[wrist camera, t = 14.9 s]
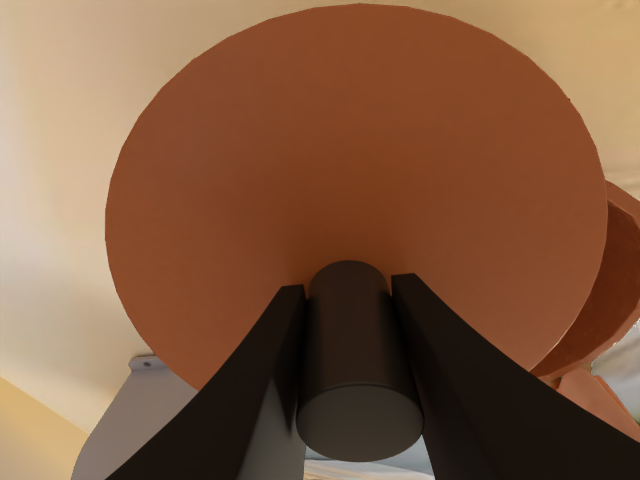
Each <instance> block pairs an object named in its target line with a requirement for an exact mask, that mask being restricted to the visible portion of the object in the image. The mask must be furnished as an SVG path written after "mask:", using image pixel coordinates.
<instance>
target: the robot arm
mask: <svg viewBox="0 0 640 480" xmlns="http://www.w3.org/2000/svg"><path fill="white" fill-rule="evenodd" d="M391 286H392V300H393V304H394V307H395V311H396V314H397V318H398V322H399V325H400V329H401V332H402V336H403V339H404V343H405V347H406V350H407V354H408V357H409V361H410V365H411V368H412V372H413V375H414V379H415V383H416V386H417V390H418V393H419V397H420V400H421V404H422V408H423V411H424V415H425V425H424V429H423V432H422V436H423V439H424V442H425V445H426V448H427V452H428V455H429V458H430V462H431V465H432V469H433V473H434V476H435V480H640V443H639V442H638V441H636V440H634V439H633V438H631V437H629V436H628V435H626V434H624V433H623V432H621V431H619V430H618V429H616V428H615V427H613V426H611V425H610V424H608V423H606V422H605V421H603V420H601V419H600V418H598V417H597V416H595V415H593V414H592V413H590V412H588V411H587V410H585V409H584V408H582V407H580V406H579V405H577V404H576V403H574V402H573V401H571V400H569V399H568V398H566V397H565V396H563V395H562V394H560V393H559V392H557V391H556V390H554V389H553V388H551V387H550V386H548V385H547V384H546V383H544V382H543V381H541V380H540V379H538V378H537V377H536V376H534V375H533V374H531V373H530V372H528V371H527V370H525V369H524V368H523V367H521V366H520V365H519V364H517V363H516V362H515V361H513V360H512V359H511V358H509V357H508V356H507V355H505V354H504V353H503V352H502V351H500V350H499V349H498V348H497V347H495V346H494V345H493V344H492V343H490V342H489V341H488V340H487V339H485V338H484V337H483V336H482V335H481V334H479V333H478V332H477V331H476V330H475V329H473V328H472V327H471V326H470V325H469V324H468V323H467V322H466V321H464V320H463V319H462V318H461V317H460V316H459V315H458V314H457V313H455V312H454V311H453V310H452V309H451V308H450V307H449V306H448V305H447V304H446V303H445V302H444V301H443V300H442V299H441V298H439V297H438V296H437V295H436V294H435V293H434V292H433V291H432V290H431V289H430V288H429V287H428V286H427V285H426V284H425V283H424V282H423V281H422V280H421V278H420V277H419V276H417V275H416V274H415V273H407V274H397V275H391ZM306 306H307V300H306V295H305V290H304V285H303V284H298V285H288V286H281V288H280V289H279V290H278V291H277V293H276V294H275V296H274V297H273V299H272V300H271V302H270V303H269V305H268V306H267V307H266V309H265V310H264V312H263V313H262V315H261V316H260V317H259V319H258V320H257V322H256V323H255V324H254V326H253V327H252V328H251V330H250V331H249V332H248V334H247V335H246V336H245V338H244V339H243V340H242V342H241V343H240V344H239V345H238V347H237V348H236V349H235V350H234V352H233V353H232V354H231V355H230V356H229V358H228V359H227V360H226V361H225V362H224V364H223V365H222V366H221V367H220V368H219V370H218V371H217V372H216V373H215V374H214V375H213V377H212V378H211V379H210V380H209V381H208V382H207V383H206V384H205V386H204V387H203V388H202V389H201V390H200V391H197V390H196V389H194V388H193V387H191V386H190V385H189V384H187V383H186V382H185V381H184V380H182V379H181V378H180V377H179V376H177V375H176V374H175V373H174V372H172V371H171V370H170V369H169V368H168V367H167V366H166V365H165V364H164V363H163V362H162V361H161V360H160V359H159V358H158V357H157V356H146V357H134V358H132V359H131V360H130V361H129V366H130V368H131V370H132V372H131V374H130V375H129V377H128V378H127V380H126V381H125V383H124V384H123V386H122V387H121V389H120V390H119V392H118V393H117V395H116V397H115V398H114V400H113V401H112V403H111V404H110V406H109V407H108V409H107V410H106V412H105V413H104V415H103V416H102V418H101V419H100V421H99V422H98V424H97V425H96V427H95V428H94V430H93V431H92V433H91V434H90V436H89V438H88V439H87V441H86V442H85V444H84V446H83V447H82V449H81V452H80V454H79V456H78V458H77V461H76V464H75V466H74V469H73V473H72V477H71V480H303V474H304V461H305V452H306V444H305V443H304V442H303V441H302V440H301V438H300V436H299V435H298V432H297V429H296V425H295V418H296V407H297V397H298V387H299V376H300V366H301V356H302V345H303V335H304V327H305V317H306Z"/></svg>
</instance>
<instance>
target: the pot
mask: <svg viewBox="0 0 640 480" xmlns="http://www.w3.org/2000/svg"><path fill="white" fill-rule="evenodd" d="M568 99H569V98H568ZM569 100H570V99H569ZM605 185H606V195H607V205H608V218H607V233H606V243H605V247H604V251H603V256H602V260H601V264H600V268H599V271H598V274H597V276H596V279H595V281H594V284H593V287H592V289H591V292H590V294H589V296H588V298H587V300H586V302H585V303H584V305H583V307H582V309H581V311H580V312H579V314H578V316H577V318H576V319H575V321H574V322H573V324H572V325H571V326H570V328H569V329H568V330H567V332H566V333H565V334H564V336H563V337H562V338H561V340H560V341H559V342H558V343H557V344H556V345H555V347H554V348H553V349H552V350H551V351H550V352H549V353H548V354H547V355H546V356H545V357H544V358H543V359H542V360H541V361H540V362H539V363H538V364H537V365H536V366H534V367H533V368H532V369H531V370H530V371H529V372H530V373H531V374H533V375H534V376H536V377H537V378H538V379H540V380H541V381H543V382H548V381H551V380H554V379H556V378H558V377H560V376H562V375H565V374H567V373H569V372H571V371H573V370H575V369H577V368H580V367H582V366H584V365H586V364H587V363H590V362H591V361H593V360H594V359H595V358H597V357H598V356H599V355H601V354H602V353H603V352H605V351H606V350H608V349H609V348H610V347H612V346H613V345H614V344H616V343H617V342H618V341H620V340H621V339H622V338H623V336H624V335H625V334H626V333H627V332H628V331H629V329H630V328H631V327H632V326H633V325H634V324H635V322H636V321H637V320H638V319H639V318H640V201H638V200H637V199H635V198H634V197H632V196H631V195H629V194H628V193H626V192H625V191H623V190H622V189H620V188H619V187H617V186H616V185H615V184H613V183H611V182H609V181H606V180H605Z"/></svg>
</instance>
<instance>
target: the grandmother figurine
mask: <svg viewBox="0 0 640 480" xmlns="http://www.w3.org/2000/svg"><path fill="white" fill-rule="evenodd" d="M590 372H591V362H590V363H587V364H586V365H584V366H582V367H580V368H577V369H575V370H573V371H571V372H569V373H567V374H565V375H563V377H562V378H556V379H554V380H551V381H548V382H544V383H546V384H547V385H548V386H550V387H551V388H553V389H554V390H556V391H557V392H559V393H560V394H562V395H563V396H565V397H566V398H568V399H569V400H571V401H573V402H574V403H576V404H577V405H579V406H580V407H582V408H584V409H585V410H587V411H588V412H590V413H592V414H593V415H595V416H597V417H598V418H600V419H601V420H603V421H605V422H606V423H608V424H610V425H611V426H613V427H615V428H616V429H618V430H619V431H621V432H623V433H624V434H626V435H628V436H629V437H631V438H633V439H634V440H636V441H638V442H639V443H640V427H639V426H638V424H637V423H636V422H635V420H634V419H633V418H632V416H631V415H630V414H629V412H628V411H627V409H626V408H625V406H624V405H623V404H622V402H621V401H620V400H619V398H618V397H617V396H616V395H615V393H614V392H613V391H612V389H611V388H610V387H609V386H608V384H607V383H606V382H605V381H604V380H603V379H602V378H601V377H600V376H593V375H591V374H590Z"/></svg>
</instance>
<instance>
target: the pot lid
mask: <svg viewBox="0 0 640 480" xmlns="http://www.w3.org/2000/svg"><path fill="white" fill-rule="evenodd" d="M607 218H608V205H607V195H606V185H605V177H604V174H603V170H602V167H601V163H600V160H599V156H598V153H597V149H596V146H595V144H594V142H593V140H592V138H591V136H590V134H589V132H588V130H587V128H586V126H585V124H584V122H583V120H582V118H581V116H580V114H579V113H578V111H577V110H576V109H575V107H574V106H573V105H572V103H571V102H570V100H569V99H568V98H567V96H566V95H565V94H564V92H563V91H562V90H561V88H560V87H559V86H558V84H557V83H556V82H555V81H553V80H552V79H551V78H550V77H549V76H548V75H547V74H546V73H545V72H544V71H543V70H542V69H540V68H539V67H538V66H537V65H536V64H535V63H534V62H533V61H532V60H531V59H530V58H529V57H527V56H526V55H524V54H523V53H521V52H520V51H518V50H516V49H515V48H513V47H512V46H510V45H509V44H507V43H506V42H504V41H502V40H501V39H499V38H498V37H496V36H495V35H493V34H491V33H489V32H486V31H484V30H482V29H479V28H477V27H474V26H472V25H470V24H467V23H465V22H462V21H460V20H458V19H455V18H453V17H450V16H446V15H441V14H437V13H433V12H428V11H424V10H420V9H416V8H411V7H407V6H393V5H377V4H362V3H358V4H348V5H337V6H327V7H316V8H310V9H307V10H303V11H299V12H295V13H291V14H287V15H283V16H280V17H276V18H272V19H268V20H266V21H264V22H261V23H259V24H257V25H255V26H252V27H250V28H248V29H245V30H243V31H241V32H239V33H236V34H234V35H232V36H229V37H227V38H226V39H224V40H223V41H221V42H220V43H218V44H217V45H215V46H213V47H212V48H210V49H209V50H207V51H206V52H204V53H203V54H201V55H199V56H198V57H196V58H195V59H193V60H192V61H191V62H190V63H188V64H187V65H186V66H185V67H184V68H183V69H182V70H181V71H180V72H179V73H177V74H176V75H175V76H174V77H173V78H172V79H171V80H170V81H169V82H167V83H166V84H165V85H164V86H163V87H162V88H161V89H160V91H159V92H158V93H157V95H156V96H155V97H154V98H153V100H152V101H151V102H150V103H149V105H148V106H147V107H146V108H145V110H144V111H143V112H142V113H141V115H140V116H139V117H138V119H137V121H136V123H135V125H134V127H133V128H132V130H131V132H130V134H129V136H128V137H127V139H126V141H125V143H124V145H123V146H122V149H121V152H120V154H119V157H118V160H117V163H116V166H115V169H114V171H113V174H112V177H111V181H110V187H109V192H108V198H107V204H106V210H105V241H106V248H107V255H108V262H109V268H110V271H111V274H112V278H113V281H114V284H115V288H116V291H117V293H118V296H119V298H120V300H121V302H122V304H123V307H124V309H125V311H126V313H127V315H128V317H129V318H130V320H131V322H132V323H133V325H134V326H135V328H136V330H137V331H138V333H139V334H140V336H141V337H142V339H143V340H144V341H145V342H146V344H147V345H148V346H149V347H150V348H151V350H152V351H153V352H154V353H155V355H156V356H157V357H158V358H159V359H160V360H161V361H162V362H163V363H164V364H165V365H166V366H167V367H168V368H169V369H170V370H171V371H172V372H174V373H175V374H176V375H177V376H179V377H180V378H181V379H182V380H184V381H185V382H186V383H187V384H189V385H190V386H191V387H193V388H194V389H196V390H197V391H200V390H201V389H202V388H203V387H204V386H205V384H206V383H207V382H208V381H209V380H210V379H211V378H212V377H213V375H214V374H215V373H216V372H217V371H218V370H219V368H220V367H221V366H222V365H223V364H224V362H225V361H226V360H227V359H228V358H229V356H230V355H231V354H232V353H233V352H234V350H235V349H236V348H237V347H238V345H239V344H240V343H241V342H242V340H243V339H244V338H245V336H246V335H247V334H248V332H249V331H250V330H251V328H252V327H253V326H254V324H255V323H256V322H257V320H258V319H259V317H260V316H261V315H262V313H263V312H264V310H265V309H266V307H267V306H268V305H269V303H270V302H271V300H272V299H273V297H274V296H275V294H276V293H277V291H278V290H279V289H280V288H281V286H288V285H298V284H303V285H304V290H305V295H306V300H307V306H306V317H305V327H304V335H303V345H302V356H301V366H300V376H299V387H298V397H297V407H296V418H295V425H296V429H297V432H298V435H299V436H300V438H301V440H302V441H303V442H304V443H305V444H306V445H307V446H308V447H309V448H311V449H312V450H314V451H315V452H317V453H319V454H321V455H323V456H326V457H329V458H332V459H335V460H340V461H347V462H372V461H378V460H383V459H387V458H390V457H393V456H395V455H398V454H400V453H402V452H404V451H405V450H407V449H408V448H410V447H411V446H412V445H413V444H414V443H416V441H417V440H418V439H419V438H420V436H421V434H422V432H423V429H424V425H425V415H424V411H423V408H422V404H421V400H420V397H419V393H418V390H417V386H416V383H415V379H414V375H413V372H412V368H411V365H410V361H409V357H408V354H407V350H406V347H405V343H404V339H403V336H402V332H401V329H400V325H399V322H398V318H397V314H396V311H395V307H394V304H393V300H392V286H391V275H397V274H407V273H415V274H416V275H417V276H419V277H420V278H421V280H422V281H423V282H424V283H425V284H426V285H427V286H428V287H429V288H430V289H431V290H432V291H433V292H434V293H435V294H436V295H437V296H438V297H439V298H441V299H442V300H443V301H444V302H445V303H446V304H447V305H448V306H449V307H450V308H451V309H452V310H453V311H454V312H455V313H457V314H458V315H459V316H460V317H461V318H462V319H463V320H464V321H466V322H467V323H468V324H469V325H470V326H471V327H472V328H473V329H475V330H476V331H477V332H478V333H479V334H481V335H482V336H483V337H484V338H485V339H487V340H488V341H489V342H490V343H492V344H493V345H494V346H495V347H497V348H498V349H499V350H500V351H502V352H503V353H504V354H505V355H507V356H508V357H509V358H511V359H512V360H513V361H515V362H516V363H517V364H519V365H520V366H521V367H523V368H524V369H525V370H527V371H528V372H529V371H530V370H531V369H532V368H533V367H534V366H536V365H537V364H538V363H539V362H540V361H541V360H542V359H543V358H544V357H545V356H546V355H547V354H548V353H549V352H550V351H551V350H552V349H553V348H554V347H555V345H556V344H557V343H558V342H559V341H560V340H561V338H562V337H563V336H564V334H565V333H566V332H567V330H568V329H569V328H570V326H571V325H572V324H573V322H574V321H575V319H576V318H577V316H578V314H579V312H580V311H581V309H582V307H583V305H584V303H585V302H586V300H587V298H588V296H589V294H590V292H591V289H592V287H593V284H594V281H595V279H596V276H597V274H598V271H599V268H600V264H601V260H602V256H603V251H604V247H605V243H606V233H607Z"/></svg>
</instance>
